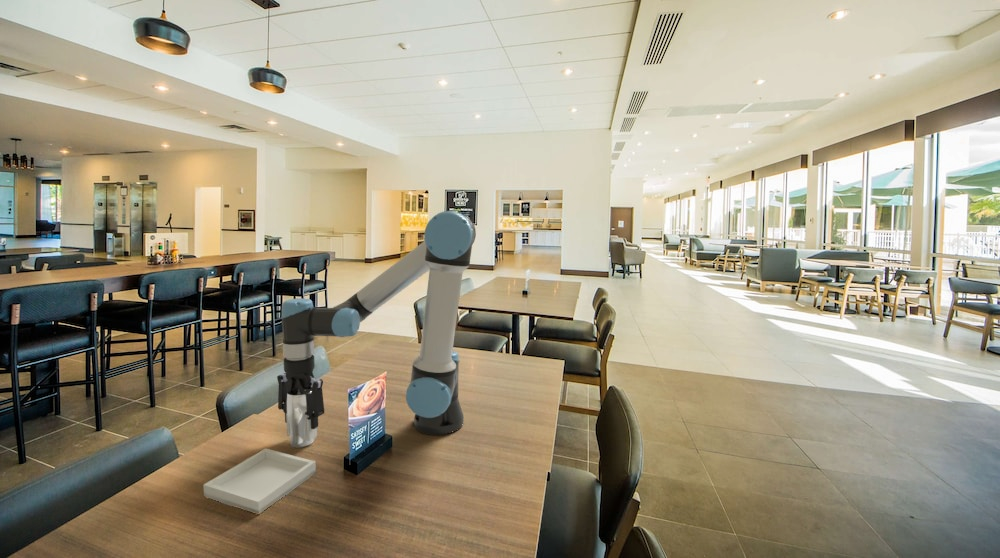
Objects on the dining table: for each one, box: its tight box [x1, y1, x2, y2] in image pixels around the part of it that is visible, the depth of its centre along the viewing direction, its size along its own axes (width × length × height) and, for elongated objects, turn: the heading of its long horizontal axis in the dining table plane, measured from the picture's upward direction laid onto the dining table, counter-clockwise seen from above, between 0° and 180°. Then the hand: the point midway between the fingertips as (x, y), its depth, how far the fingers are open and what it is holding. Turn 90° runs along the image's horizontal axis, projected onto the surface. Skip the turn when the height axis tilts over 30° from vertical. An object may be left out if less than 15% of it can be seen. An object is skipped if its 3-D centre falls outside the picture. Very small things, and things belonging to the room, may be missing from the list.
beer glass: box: [287, 389, 315, 449], centre depth 114 cm, size 7×7×15 cm
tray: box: [202, 448, 317, 513], centre depth 96 cm, size 16×16×3 cm
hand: (302, 436), depth 115 cm, fingers closed on beer glass, 6 cm apart
